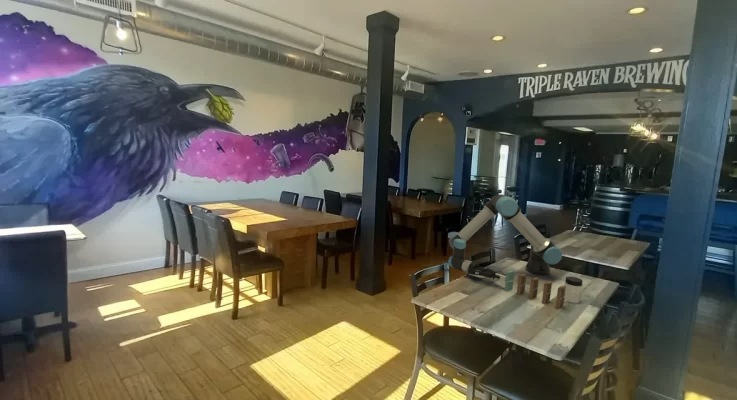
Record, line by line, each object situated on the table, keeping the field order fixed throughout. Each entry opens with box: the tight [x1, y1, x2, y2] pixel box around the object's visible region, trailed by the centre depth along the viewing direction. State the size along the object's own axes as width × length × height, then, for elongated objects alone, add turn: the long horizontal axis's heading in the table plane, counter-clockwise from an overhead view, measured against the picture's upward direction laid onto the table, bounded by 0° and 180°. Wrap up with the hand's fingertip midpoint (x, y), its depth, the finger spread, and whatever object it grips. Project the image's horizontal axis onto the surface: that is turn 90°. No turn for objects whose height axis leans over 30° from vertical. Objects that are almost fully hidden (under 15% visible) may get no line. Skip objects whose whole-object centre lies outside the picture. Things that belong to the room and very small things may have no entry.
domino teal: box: [504, 269, 515, 292], centre depth 211 cm, size 6×2×11 cm, turn 131°
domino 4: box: [555, 284, 566, 310], centre depth 190 cm, size 6×2×11 cm, turn 131°
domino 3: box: [541, 281, 553, 305], centre depth 195 cm, size 6×2×11 cm, turn 131°
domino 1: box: [515, 273, 527, 296], centre depth 205 cm, size 6×2×11 cm, turn 131°
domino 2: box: [528, 277, 540, 301], centre depth 200 cm, size 6×2×11 cm, turn 131°
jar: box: [563, 276, 583, 304], centre depth 200 cm, size 9×8×12 cm
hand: (505, 278), depth 212 cm, fingers closed
